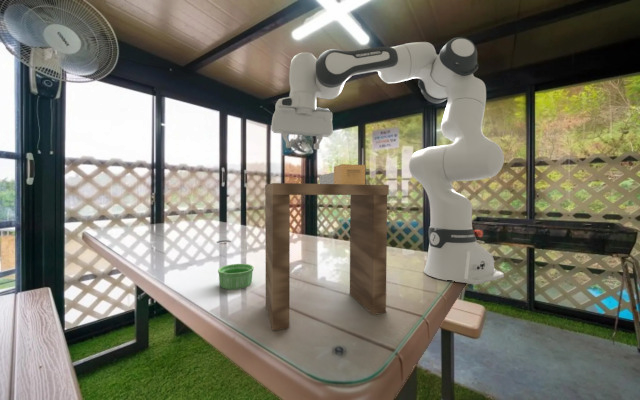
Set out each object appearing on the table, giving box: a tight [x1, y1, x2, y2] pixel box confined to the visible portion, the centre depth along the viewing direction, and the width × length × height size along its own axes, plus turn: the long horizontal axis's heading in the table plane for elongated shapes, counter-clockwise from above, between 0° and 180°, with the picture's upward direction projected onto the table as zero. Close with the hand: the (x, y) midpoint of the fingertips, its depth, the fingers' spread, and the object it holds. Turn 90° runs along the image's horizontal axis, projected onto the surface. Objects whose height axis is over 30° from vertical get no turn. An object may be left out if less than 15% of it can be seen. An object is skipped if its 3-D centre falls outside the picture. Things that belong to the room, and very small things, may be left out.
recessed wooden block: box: [319, 163, 366, 185], centre depth 61 cm, size 5×20×4 cm, turn 15°
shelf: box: [264, 182, 390, 332], centre depth 54 cm, size 23×12×26 cm, turn 108°
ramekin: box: [217, 263, 254, 290], centre depth 69 cm, size 9×9×4 cm
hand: (302, 148), depth 85 cm, fingers open, 8 cm apart
